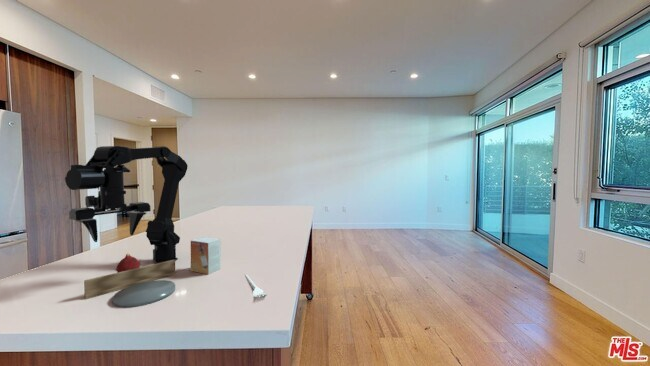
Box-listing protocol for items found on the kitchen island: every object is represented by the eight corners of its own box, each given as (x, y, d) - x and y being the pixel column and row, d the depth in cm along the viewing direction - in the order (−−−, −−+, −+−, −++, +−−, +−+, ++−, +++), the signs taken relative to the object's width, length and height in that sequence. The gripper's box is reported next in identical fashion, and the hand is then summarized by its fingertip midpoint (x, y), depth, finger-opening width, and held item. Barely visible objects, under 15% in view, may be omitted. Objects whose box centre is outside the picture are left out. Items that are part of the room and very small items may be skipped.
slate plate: (164, 279, 82) (164, 276, 82) (183, 292, 73) (183, 289, 73) (107, 295, 71) (106, 292, 71) (120, 313, 62) (120, 309, 62)
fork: (250, 275, 86) (250, 270, 86) (269, 300, 69) (269, 292, 69) (240, 277, 85) (240, 272, 85) (256, 303, 67) (256, 295, 67)
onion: (144, 276, 84) (144, 252, 84) (125, 284, 78) (125, 257, 78) (131, 274, 86) (131, 250, 85) (112, 281, 80) (111, 255, 80)
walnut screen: (173, 272, 87) (173, 259, 87) (176, 274, 86) (175, 260, 86) (84, 296, 71) (83, 279, 70) (85, 299, 69) (85, 282, 69)
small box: (190, 271, 88) (189, 240, 88) (203, 266, 94) (203, 236, 93) (208, 274, 85) (207, 242, 85) (221, 269, 91) (220, 238, 90)
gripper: (133, 185, 92) (135, 229, 93) (60, 188, 76) (63, 241, 77) (150, 186, 87) (152, 233, 87) (75, 190, 71) (78, 247, 71)
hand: (114, 238), depth 81 cm, fingers open, 9 cm apart
